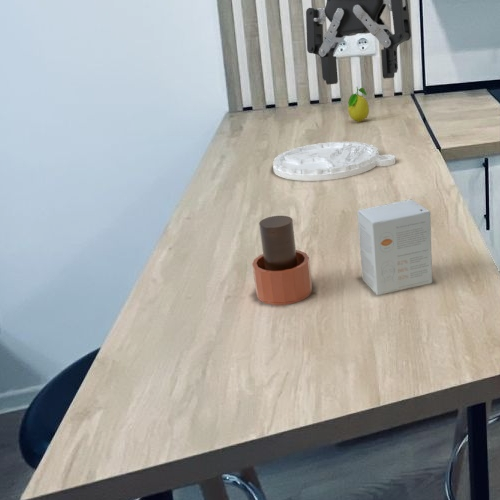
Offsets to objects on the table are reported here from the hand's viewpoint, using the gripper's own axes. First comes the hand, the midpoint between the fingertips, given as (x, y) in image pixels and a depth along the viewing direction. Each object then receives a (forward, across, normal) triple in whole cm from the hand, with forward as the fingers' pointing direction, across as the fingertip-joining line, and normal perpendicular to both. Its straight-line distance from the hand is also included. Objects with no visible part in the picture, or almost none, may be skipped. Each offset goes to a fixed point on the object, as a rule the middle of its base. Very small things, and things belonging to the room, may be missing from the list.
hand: (359, 81), depth 89 cm
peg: (+26, -7, -12) cm, 30 cm away
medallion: (+18, -30, +45) cm, 57 cm away
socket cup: (+27, -7, -12) cm, 31 cm away
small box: (+27, +5, -4) cm, 28 cm away
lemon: (+11, -43, +83) cm, 94 cm away
